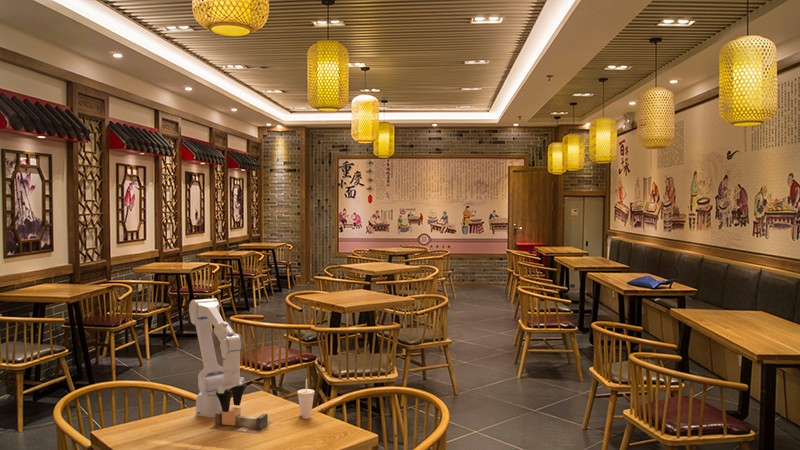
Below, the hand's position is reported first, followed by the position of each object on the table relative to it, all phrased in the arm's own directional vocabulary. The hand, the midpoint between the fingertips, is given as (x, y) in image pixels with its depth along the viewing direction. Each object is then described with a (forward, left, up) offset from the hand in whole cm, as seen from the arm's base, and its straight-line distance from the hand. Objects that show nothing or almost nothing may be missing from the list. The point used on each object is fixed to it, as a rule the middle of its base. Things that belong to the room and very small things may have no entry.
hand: (231, 408), depth 213 cm
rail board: (+4, 0, -7) cm, 8 cm away
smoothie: (+21, +17, -7) cm, 28 cm away
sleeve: (0, 0, -6) cm, 6 cm away
